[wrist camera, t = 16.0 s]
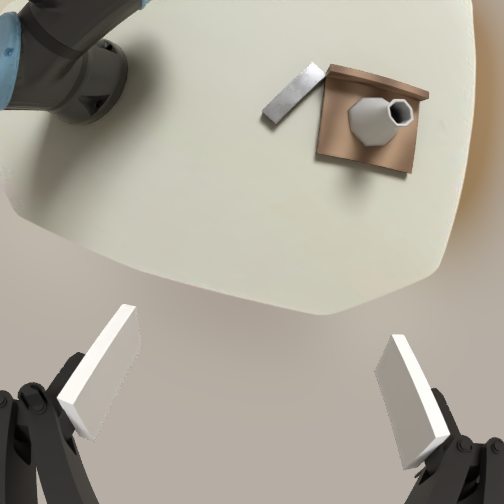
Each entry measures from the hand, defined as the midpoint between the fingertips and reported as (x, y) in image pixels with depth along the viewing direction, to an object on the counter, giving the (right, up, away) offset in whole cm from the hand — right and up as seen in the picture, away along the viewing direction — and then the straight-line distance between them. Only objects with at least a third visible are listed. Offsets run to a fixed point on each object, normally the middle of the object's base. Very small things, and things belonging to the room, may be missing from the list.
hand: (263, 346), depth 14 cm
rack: (+16, +23, +22) cm, 35 cm away
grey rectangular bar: (+5, +26, +22) cm, 35 cm away
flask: (+16, +22, +21) cm, 34 cm away
